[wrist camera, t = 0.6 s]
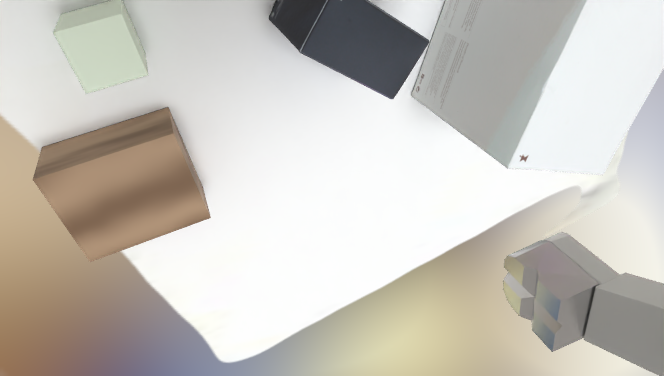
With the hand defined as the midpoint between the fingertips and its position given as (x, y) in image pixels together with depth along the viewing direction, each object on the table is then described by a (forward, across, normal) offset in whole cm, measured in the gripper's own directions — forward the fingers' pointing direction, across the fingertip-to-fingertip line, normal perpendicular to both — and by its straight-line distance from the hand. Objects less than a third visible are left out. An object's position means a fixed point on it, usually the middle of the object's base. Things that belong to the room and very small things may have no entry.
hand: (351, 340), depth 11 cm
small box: (+40, -13, +6) cm, 42 cm away
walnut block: (+40, +11, +14) cm, 44 cm away
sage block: (+40, +7, +2) cm, 40 cm away
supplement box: (+40, -31, +13) cm, 52 cm away
